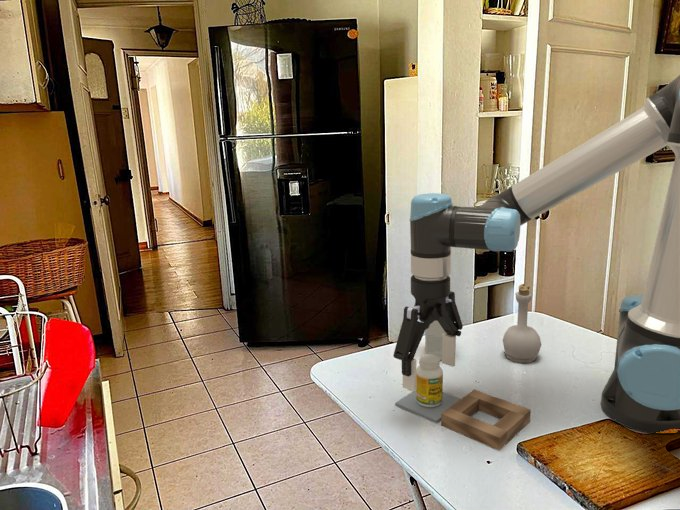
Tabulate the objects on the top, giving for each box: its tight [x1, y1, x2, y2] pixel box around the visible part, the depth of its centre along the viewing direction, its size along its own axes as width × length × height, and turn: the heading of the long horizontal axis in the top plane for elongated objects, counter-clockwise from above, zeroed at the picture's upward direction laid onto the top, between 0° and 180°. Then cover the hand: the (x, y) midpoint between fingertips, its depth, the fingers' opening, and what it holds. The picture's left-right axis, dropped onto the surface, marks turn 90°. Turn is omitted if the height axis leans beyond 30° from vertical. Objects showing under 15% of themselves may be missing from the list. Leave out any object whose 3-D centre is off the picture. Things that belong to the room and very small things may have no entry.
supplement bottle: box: [416, 354, 444, 407], centre depth 106 cm, size 5×5×10 cm
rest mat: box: [394, 391, 462, 424], centre depth 107 cm, size 10×10×1 cm
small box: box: [424, 321, 447, 362], centre depth 128 cm, size 8×6×13 cm
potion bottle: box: [502, 283, 542, 364], centre depth 124 cm, size 9×9×18 cm
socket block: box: [440, 389, 532, 451], centre depth 99 cm, size 12×12×2 cm
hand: (429, 376), depth 106 cm, fingers open, 13 cm apart
